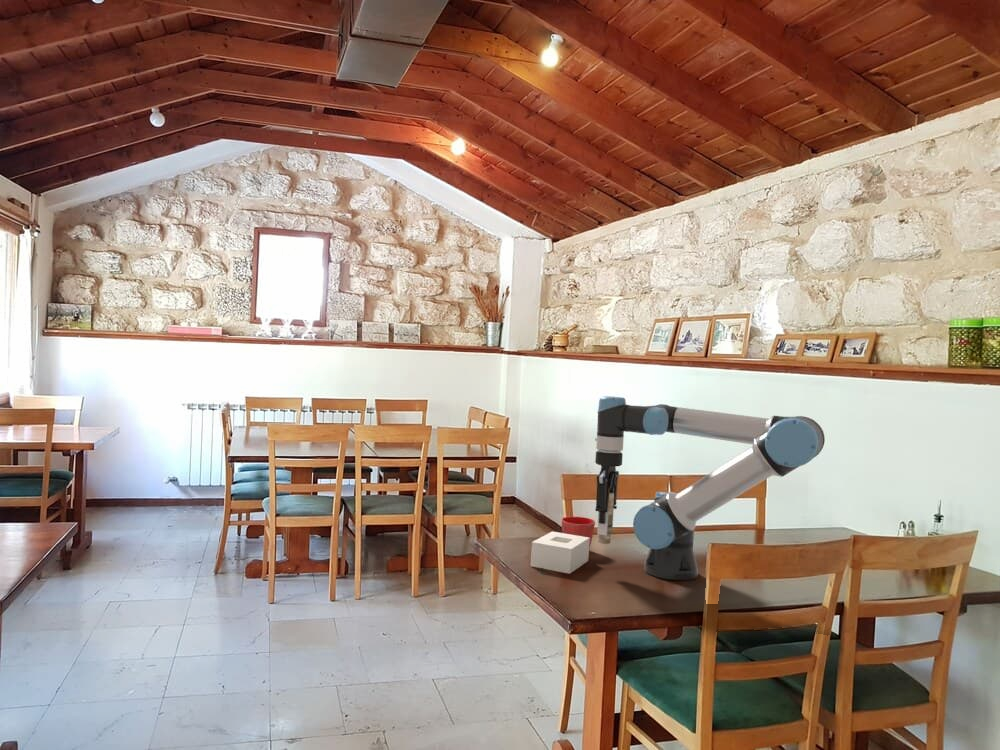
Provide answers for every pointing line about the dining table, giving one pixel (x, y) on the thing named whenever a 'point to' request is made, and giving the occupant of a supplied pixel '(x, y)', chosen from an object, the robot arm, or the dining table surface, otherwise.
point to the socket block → (560, 552)
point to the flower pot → (578, 526)
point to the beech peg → (604, 538)
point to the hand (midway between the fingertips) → (604, 532)
